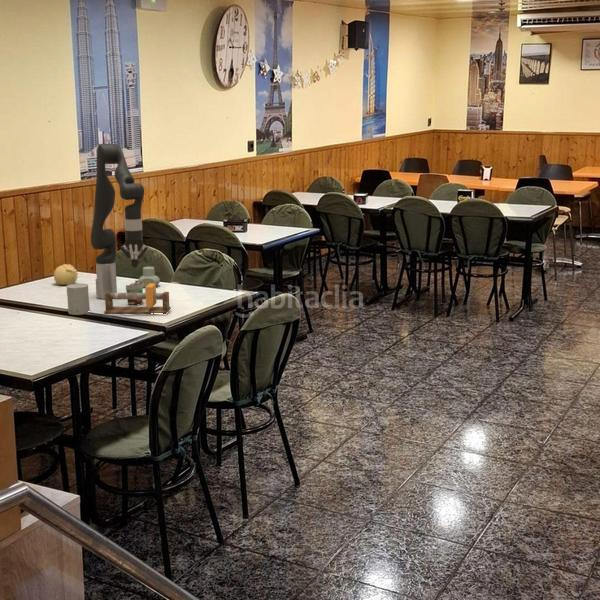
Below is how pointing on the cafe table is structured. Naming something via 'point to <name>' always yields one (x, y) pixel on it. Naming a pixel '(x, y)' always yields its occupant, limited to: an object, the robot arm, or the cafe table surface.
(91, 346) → the cafe table surface
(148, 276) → the air freshener
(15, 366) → the cafe table surface
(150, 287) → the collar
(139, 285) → the food container
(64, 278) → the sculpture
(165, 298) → the rod stand
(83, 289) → the gray cylinder
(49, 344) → the cafe table surface
